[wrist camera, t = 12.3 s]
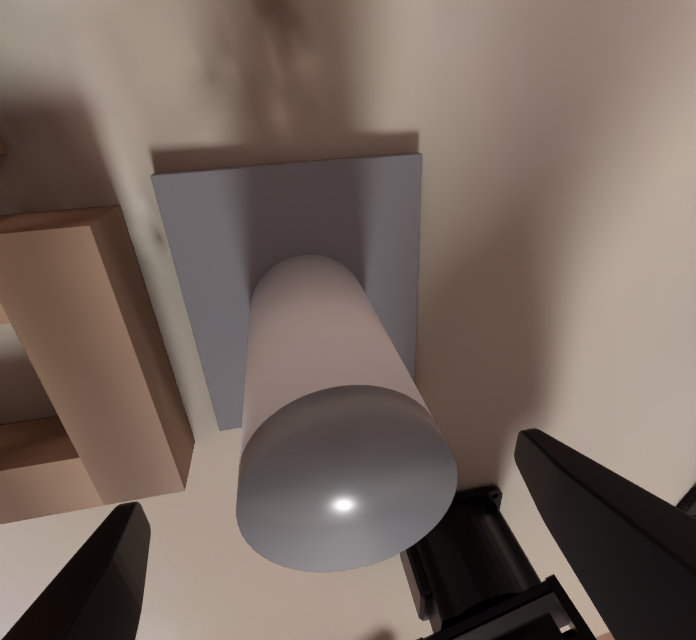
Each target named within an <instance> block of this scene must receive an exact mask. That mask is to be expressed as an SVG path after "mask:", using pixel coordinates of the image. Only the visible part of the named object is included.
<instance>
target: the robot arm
mask: <svg viewBox="0 0 696 640" xmlns="http://www.w3.org/2000/svg"><path fill="white" fill-rule="evenodd" d="M514 458H515V462H516V465H517V467H518V469H519V471H520V473H521V475H522V477H523V479H524V481H525V483H526V486H527V488H528V490H529V492H530V494H531V496H532V498H533V500H534V502H535V504H536V506H537V509H538V511H539V513H540V515H541V517H542V519H543V521H544V522H545V524H546V526H547V528H548V529H549V531H550V533H551V534H552V536H553V538H554V539H555V541H556V543H557V544H558V546H559V548H560V549H561V551H562V553H563V554H564V556H565V558H566V559H567V561H568V563H569V564H570V566H571V568H572V569H573V571H574V573H575V574H576V576H577V578H578V579H579V581H580V582H581V584H582V586H583V587H584V589H585V591H586V592H587V594H588V596H589V597H590V599H591V601H592V602H593V604H594V606H595V607H596V609H597V611H598V612H599V614H600V616H601V617H602V619H603V621H604V622H605V624H606V626H607V627H608V629H609V631H610V632H611V633H612V635H613V637H614V639H615V640H696V518H694V517H692V516H691V515H689V514H687V513H685V512H684V511H682V510H680V509H678V508H676V507H675V506H673V505H671V504H669V503H668V502H666V501H664V500H662V499H661V498H659V497H657V496H655V495H654V494H652V493H650V492H648V491H646V490H645V489H643V488H641V487H639V486H638V485H636V484H634V483H632V482H631V481H629V480H627V479H625V478H624V477H622V476H620V475H618V474H616V473H615V472H613V471H611V470H609V469H608V468H606V467H604V466H602V465H601V464H599V463H597V462H595V461H594V460H592V459H590V458H588V457H586V456H585V455H583V454H581V453H579V452H578V451H576V450H574V449H572V448H571V447H569V446H567V445H565V444H564V443H562V442H560V441H558V440H557V439H555V438H553V437H551V436H549V435H548V434H546V433H544V432H542V431H541V430H539V429H536V428H532V429H526V430H522V431H520V432H519V433H518V437H517V442H516V447H515V452H514ZM501 499H502V492H501V490H500V488H499V487H498V486H490V487H485V488H480V489H475V490H470V491H465V492H460V493H455V495H454V498H453V500H452V503H451V505H450V506H449V508H448V510H447V512H446V513H445V515H444V516H443V517H442V519H441V520H440V521H439V522H438V524H437V525H436V526H435V527H434V528H433V529H432V530H431V531H430V532H429V533H428V534H427V535H425V536H424V537H423V538H422V539H420V540H419V541H418V542H416V543H415V544H414V545H412V546H410V547H409V548H407V549H406V550H404V551H402V552H400V557H401V561H402V564H403V567H404V570H405V574H406V577H407V580H408V584H409V587H410V590H411V593H412V597H413V600H414V603H415V607H416V610H417V613H418V616H419V618H420V619H421V620H423V621H425V620H429V621H430V624H431V627H432V630H433V633H434V634H432V635H430V636H428V637H425V638H422V637H421V638H419V639H417V640H597V639H596V638H595V636H594V635H593V633H592V632H591V630H590V629H589V627H588V626H587V624H586V623H585V621H584V619H583V618H582V616H581V615H580V613H579V612H578V610H577V609H576V607H575V606H574V604H573V603H572V601H571V600H570V598H569V597H568V595H567V593H566V592H565V590H564V589H563V587H562V586H561V584H560V583H559V581H558V580H557V578H556V577H555V575H554V574H553V575H551V576H549V577H547V578H545V581H543V582H541V580H540V579H539V577H538V575H537V574H536V572H535V570H534V568H533V567H532V565H531V563H530V562H529V560H528V558H527V556H526V555H525V553H524V551H523V550H522V548H521V546H520V544H519V543H518V541H517V539H516V538H515V536H514V534H513V532H512V531H511V529H510V527H509V526H508V524H507V522H506V520H505V519H504V517H503V515H502V514H501V512H500V510H499V509H500V504H501ZM150 536H151V530H150V524H149V522H148V520H147V517H146V515H145V513H144V511H143V508H142V506H141V504H140V503H139V502H130V503H125V504H120V505H118V506H117V507H115V509H114V510H113V511H112V512H111V513H110V514H109V515H108V517H107V518H106V519H105V520H104V521H103V522H102V524H101V525H100V526H99V527H98V528H97V529H96V531H95V532H94V533H93V534H92V535H91V536H90V537H89V539H88V540H87V541H86V542H85V543H84V544H83V546H82V547H81V548H80V549H79V550H78V551H77V553H76V554H75V555H74V556H73V557H72V558H71V560H70V561H69V562H68V563H67V564H66V565H65V567H64V568H63V569H62V570H61V571H60V572H59V573H58V575H57V576H56V577H55V578H54V579H53V580H52V582H51V583H50V584H49V585H48V586H47V587H46V589H45V590H44V591H43V592H42V593H41V594H40V596H39V597H38V598H37V599H36V600H35V601H34V603H33V604H32V605H31V606H30V607H29V608H28V609H27V611H26V612H25V613H24V614H23V615H22V616H21V618H20V619H19V620H18V621H17V622H16V623H15V625H14V626H13V627H12V628H11V629H10V630H9V632H8V633H7V634H6V635H5V636H4V637H3V639H2V640H135V638H136V633H137V629H138V624H139V619H140V614H141V609H142V602H143V595H144V586H145V578H146V570H147V561H148V553H149V544H150ZM566 625H569V627H570V628H571V629H570V630H568V631H566V632H564V633H561V631H560V630H559V629H560V628H562V627H564V626H566Z"/></svg>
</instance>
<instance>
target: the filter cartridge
mask: <svg viewBox="0 0 696 640" xmlns="http://www.w3.org/2000/svg"><path fill="white" fill-rule="evenodd" d="M457 481H458V472H457V466H456V462H455V459H454V456H453V454H452V452H451V450H450V448H449V446H448V445H447V443H446V441H445V439H444V437H443V435H442V433H441V432H440V430H439V428H438V426H437V424H436V422H435V421H434V419H433V417H432V415H431V413H430V411H429V410H428V408H427V406H426V404H425V402H424V400H423V398H422V397H421V395H420V393H419V391H418V389H417V387H416V386H415V384H414V382H413V380H412V378H411V376H410V375H409V373H408V371H407V369H406V367H405V365H404V363H403V362H402V360H401V358H400V356H399V354H398V352H397V351H396V349H395V347H394V345H393V343H392V341H391V340H390V338H389V336H388V334H387V332H386V330H385V328H384V327H383V325H382V323H381V321H380V319H379V317H378V316H377V314H376V312H375V310H374V308H373V306H372V305H371V303H370V301H369V299H368V297H367V295H366V293H365V292H364V290H363V288H362V286H361V284H360V282H359V281H358V279H357V277H356V276H355V275H354V274H353V272H352V271H351V270H350V269H348V268H347V267H346V266H345V265H343V264H342V263H340V262H338V261H336V260H335V259H332V258H329V257H326V256H321V255H313V254H308V255H299V256H294V257H291V258H287V259H285V260H283V261H281V262H279V263H277V264H276V265H274V266H273V267H272V268H270V269H269V270H268V271H267V272H266V273H265V274H264V275H263V276H262V278H261V279H260V280H259V282H258V283H257V285H256V287H255V289H254V292H253V295H252V300H251V308H250V322H249V336H248V350H247V364H246V378H245V392H244V406H243V420H242V434H241V448H240V462H239V476H238V490H237V504H236V517H237V522H238V526H239V529H240V531H241V534H242V536H243V537H244V539H245V540H246V542H247V543H248V544H249V545H250V546H251V547H252V549H253V550H254V551H256V552H257V553H258V554H260V555H261V556H262V557H264V558H266V559H267V560H269V561H271V562H273V563H276V564H278V565H281V566H283V567H287V568H290V569H294V570H300V571H306V572H338V571H346V570H352V569H357V568H361V567H365V566H369V565H372V564H375V563H378V562H381V561H383V560H386V559H388V558H390V557H393V556H395V555H396V554H398V553H400V552H402V551H404V550H406V549H407V548H409V547H410V546H412V545H414V544H415V543H416V542H418V541H419V540H420V539H422V538H423V537H424V536H425V535H427V534H428V533H429V532H430V531H431V530H432V529H433V528H434V527H435V526H436V525H437V524H438V522H439V521H440V520H441V519H442V517H443V516H444V515H445V513H446V512H447V510H448V508H449V506H450V505H451V503H452V500H453V498H454V495H455V492H456V487H457Z"/></svg>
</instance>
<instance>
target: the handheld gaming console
mask: <svg viewBox="0 0 696 640" xmlns="http://www.w3.org/2000/svg"><path fill="white" fill-rule="evenodd" d="M676 508H678V509H680V510H682V511H684V512H685V513H687V514H689V515H691V516H692V517H694V518H696V487H692V488H691V489H690V491H689V492H688V494H687V495H686V496H685V497H684V498H683V499H682V501H681V502H680V503H679V504H678V505H677V506H676Z"/></svg>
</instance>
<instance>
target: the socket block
mask: <svg viewBox="0 0 696 640" xmlns="http://www.w3.org/2000/svg"><path fill="white" fill-rule="evenodd" d="M1 154H7V152H6V150H5V148H4V145H3V143H2V140H1V138H0V155H1ZM6 323H11V324H12V326H13V328H14V330H15V332H16V334H17V336H18V338H19V340H20V342H21V344H22V346H23V348H24V350H25V352H26V354H27V356H28V358H29V360H30V361H31V363H32V365H33V367H34V369H35V371H36V373H37V375H38V377H39V379H40V381H41V383H42V385H43V387H44V389H45V391H46V393H47V395H48V397H49V399H50V401H51V402H52V404H53V406H54V408H55V410H56V412H57V414H58V416H57V417H51V418H44V419H38V420H31V421H25V422H18V423H12V424H5V425H0V524H5V523H10V522H16V521H21V520H26V519H32V518H37V517H43V516H48V515H54V514H59V513H65V512H70V511H76V510H81V509H87V508H92V507H98V506H103V505H109V504H114V503H120V502H125V501H131V500H136V499H142V498H147V497H152V496H158V495H163V494H169V493H174V492H180V491H185V488H186V483H187V478H188V473H189V468H190V463H191V458H192V453H193V449H194V444H195V441H194V438H193V435H192V432H191V429H190V426H189V422H188V419H187V416H186V413H185V410H184V407H183V403H182V400H181V397H180V394H179V391H178V388H177V384H176V381H175V378H174V375H173V372H172V369H171V366H170V362H169V359H168V356H167V353H166V350H165V347H164V343H163V340H162V337H161V334H160V331H159V328H158V324H157V321H156V318H155V315H154V312H153V309H152V305H151V302H150V299H149V296H148V293H147V290H146V286H145V283H144V280H143V277H142V274H141V271H140V267H139V264H138V261H137V258H136V255H135V252H134V249H133V245H132V242H131V239H130V236H129V233H128V230H127V226H126V223H125V220H124V217H123V214H122V211H121V207H120V205H114V206H103V207H92V208H80V209H69V210H58V211H46V212H35V213H24V214H13V215H1V216H0V324H6Z"/></svg>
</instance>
